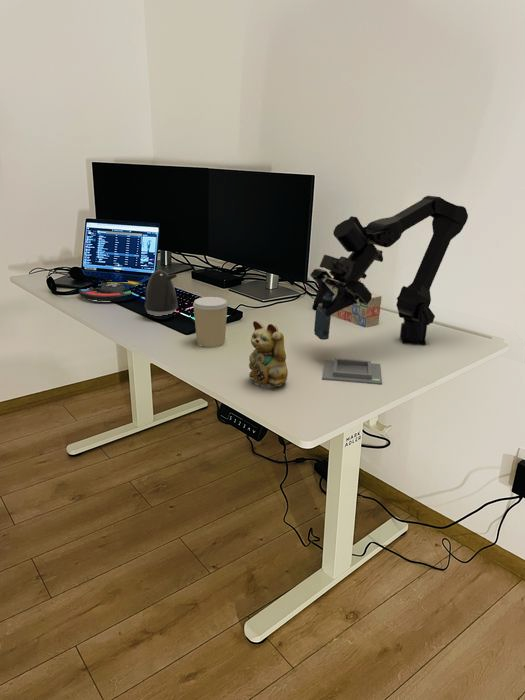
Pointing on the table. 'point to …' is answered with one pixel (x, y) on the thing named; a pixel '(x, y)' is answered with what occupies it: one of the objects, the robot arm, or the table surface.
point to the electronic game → (108, 291)
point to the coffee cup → (210, 321)
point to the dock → (352, 371)
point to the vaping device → (323, 318)
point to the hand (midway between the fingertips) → (319, 312)
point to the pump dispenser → (160, 294)
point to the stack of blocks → (360, 311)
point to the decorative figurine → (268, 356)
